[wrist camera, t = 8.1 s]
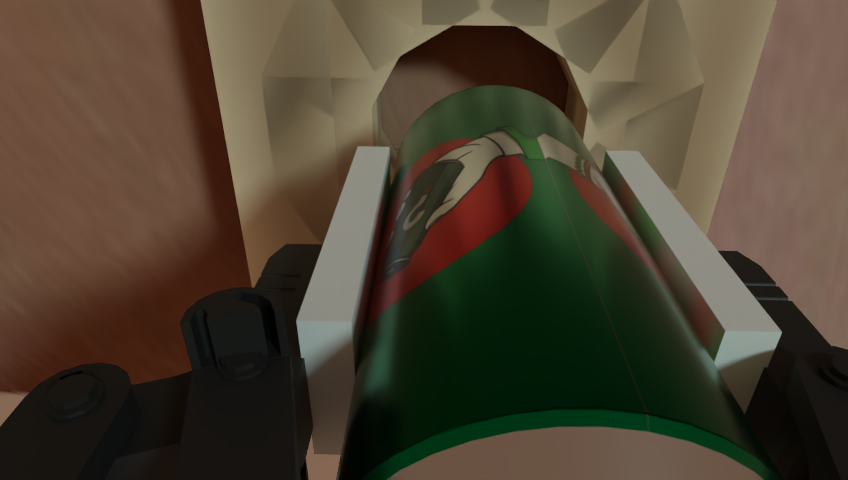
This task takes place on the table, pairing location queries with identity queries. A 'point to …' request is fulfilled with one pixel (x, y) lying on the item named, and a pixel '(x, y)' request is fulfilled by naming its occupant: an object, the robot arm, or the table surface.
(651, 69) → the hub block
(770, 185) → the table surface
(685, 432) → the soda can
